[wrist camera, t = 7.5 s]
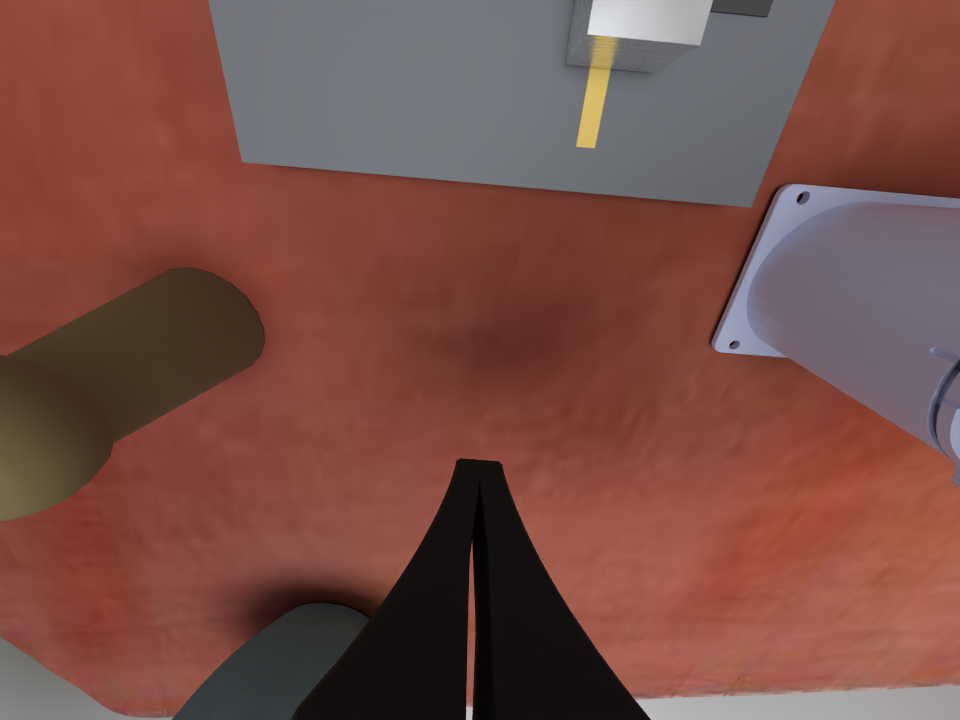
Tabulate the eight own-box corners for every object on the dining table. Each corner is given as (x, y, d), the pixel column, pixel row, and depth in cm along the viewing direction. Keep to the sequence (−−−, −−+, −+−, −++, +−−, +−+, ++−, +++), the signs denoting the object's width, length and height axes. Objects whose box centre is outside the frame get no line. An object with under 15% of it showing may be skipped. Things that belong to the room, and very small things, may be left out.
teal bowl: (400, 682, 39) (367, 876, 28) (229, 650, 36) (121, 852, 26) (451, 596, 31) (432, 823, 20) (236, 548, 28) (82, 780, 18)
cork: (225, 255, 17) (-108, 363, 8) (284, 361, 20) (95, 538, 10) (120, 282, 18) (-303, 411, 8) (191, 380, 21) (-66, 563, 11)
